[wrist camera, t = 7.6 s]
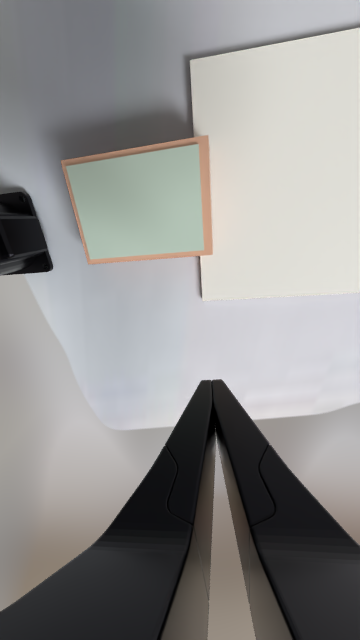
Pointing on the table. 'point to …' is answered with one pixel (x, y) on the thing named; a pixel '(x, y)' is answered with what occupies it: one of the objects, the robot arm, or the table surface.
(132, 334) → the table surface
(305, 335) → the table surface
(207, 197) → the tile
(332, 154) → the mat
